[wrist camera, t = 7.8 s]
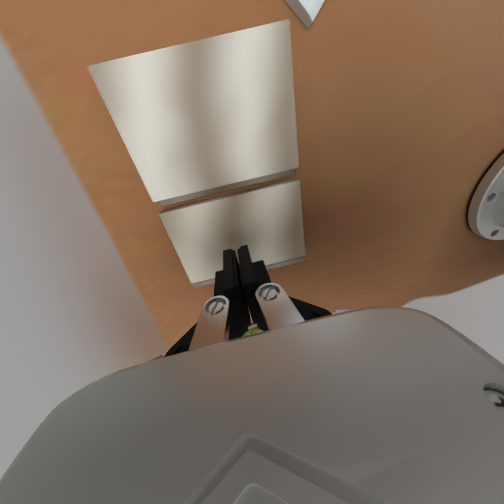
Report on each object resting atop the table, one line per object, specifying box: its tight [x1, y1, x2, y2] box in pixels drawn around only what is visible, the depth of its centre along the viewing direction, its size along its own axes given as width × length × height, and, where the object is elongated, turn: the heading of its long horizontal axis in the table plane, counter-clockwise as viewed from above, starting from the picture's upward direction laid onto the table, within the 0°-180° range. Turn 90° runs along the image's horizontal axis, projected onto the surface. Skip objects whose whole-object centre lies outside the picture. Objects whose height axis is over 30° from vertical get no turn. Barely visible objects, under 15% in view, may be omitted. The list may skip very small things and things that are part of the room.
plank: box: [159, 179, 306, 288], centre depth 17 cm, size 12×8×1 cm, turn 102°
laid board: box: [87, 19, 299, 207], centre depth 13 cm, size 12×9×1 cm
